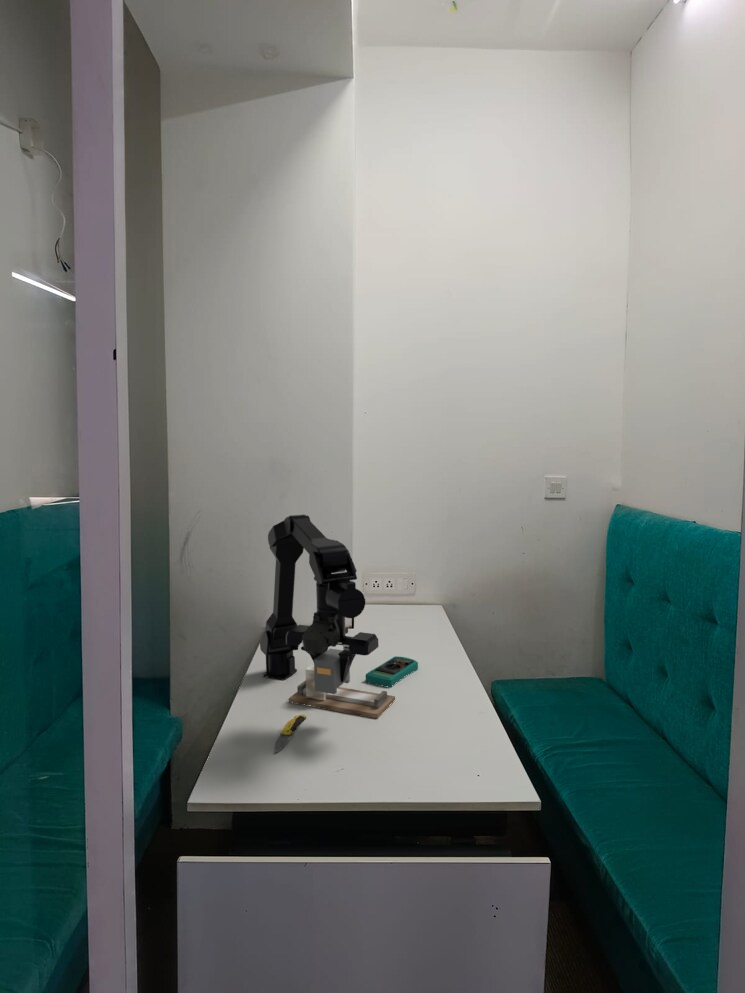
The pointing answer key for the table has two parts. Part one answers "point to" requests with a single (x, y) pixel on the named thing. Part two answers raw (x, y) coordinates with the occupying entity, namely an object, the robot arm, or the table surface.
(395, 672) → the digital multimeter
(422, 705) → the table surface
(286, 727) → the utility knife
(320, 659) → the block
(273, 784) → the table surface
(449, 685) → the table surface
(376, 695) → the din panel
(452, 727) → the table surface
